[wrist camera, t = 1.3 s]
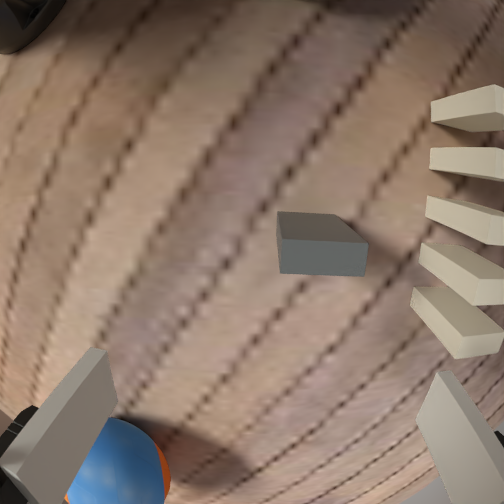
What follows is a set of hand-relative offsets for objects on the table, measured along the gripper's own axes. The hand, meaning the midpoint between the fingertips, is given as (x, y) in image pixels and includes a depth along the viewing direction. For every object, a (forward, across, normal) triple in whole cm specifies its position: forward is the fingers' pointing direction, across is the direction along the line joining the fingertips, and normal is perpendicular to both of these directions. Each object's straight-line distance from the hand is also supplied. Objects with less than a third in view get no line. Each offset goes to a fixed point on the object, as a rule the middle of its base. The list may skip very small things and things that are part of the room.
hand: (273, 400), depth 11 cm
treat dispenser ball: (+18, -17, -27) cm, 37 cm away
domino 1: (+18, +3, +3) cm, 18 cm away
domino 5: (+18, +17, +2) cm, 25 cm away
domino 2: (+18, +16, +15) cm, 29 cm away
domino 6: (+18, +17, -3) cm, 25 cm away
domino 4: (+18, +16, +6) cm, 25 cm away
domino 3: (+18, +16, +11) cm, 27 cm away
